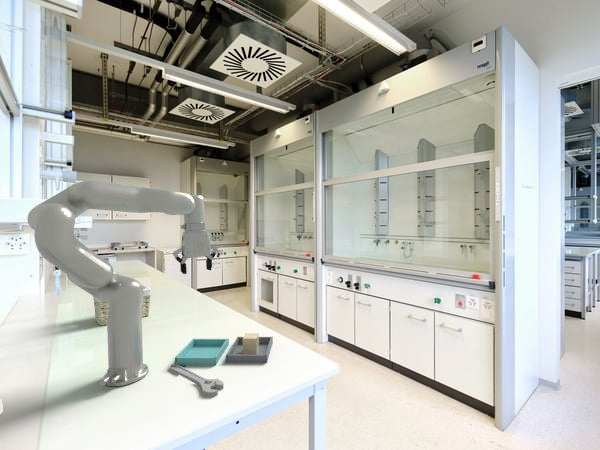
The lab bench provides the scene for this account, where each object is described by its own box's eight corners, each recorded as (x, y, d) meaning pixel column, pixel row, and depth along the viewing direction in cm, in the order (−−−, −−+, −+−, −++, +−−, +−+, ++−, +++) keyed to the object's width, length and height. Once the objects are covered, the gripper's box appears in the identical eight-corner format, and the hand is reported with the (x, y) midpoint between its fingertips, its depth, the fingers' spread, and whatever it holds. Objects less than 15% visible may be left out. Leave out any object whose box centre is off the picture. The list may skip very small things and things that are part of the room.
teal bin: (215, 366, 101) (215, 358, 101) (174, 366, 101) (174, 358, 101) (228, 346, 117) (228, 338, 117) (193, 346, 117) (193, 338, 117)
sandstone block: (256, 355, 108) (256, 338, 108) (242, 354, 108) (242, 338, 108) (259, 348, 113) (258, 333, 113) (245, 348, 113) (245, 333, 113)
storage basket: (144, 309, 166) (143, 283, 166) (153, 316, 154) (152, 287, 154) (92, 319, 150) (91, 290, 150) (97, 328, 138) (96, 296, 138)
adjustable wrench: (167, 371, 100) (167, 365, 100) (185, 363, 105) (185, 358, 105) (209, 399, 83) (209, 393, 83) (228, 389, 88) (228, 383, 88)
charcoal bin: (267, 364, 102) (266, 355, 102) (226, 364, 103) (226, 355, 103) (272, 344, 118) (272, 336, 118) (237, 344, 119) (237, 336, 119)
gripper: (174, 229, 107) (177, 276, 107) (220, 226, 118) (222, 269, 119) (168, 228, 112) (170, 273, 113) (212, 226, 123) (214, 267, 124)
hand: (196, 271), depth 116 cm, fingers open, 9 cm apart
